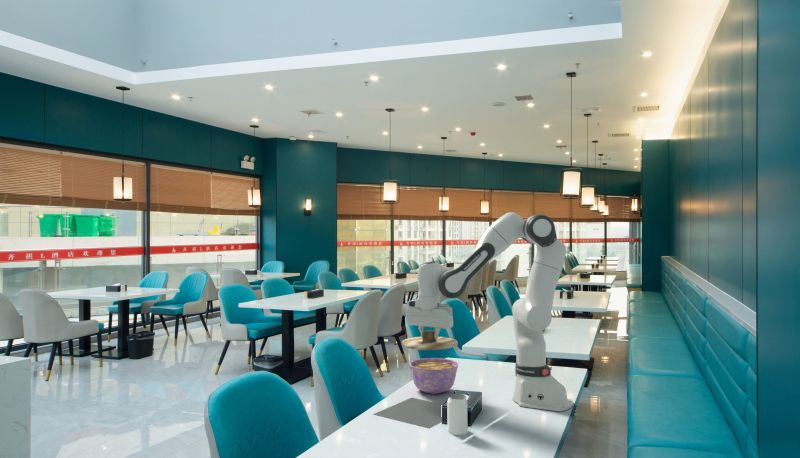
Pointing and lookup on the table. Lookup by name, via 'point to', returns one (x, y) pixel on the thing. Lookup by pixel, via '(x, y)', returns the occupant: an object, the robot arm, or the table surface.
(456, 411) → the can
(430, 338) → the oak bowl cover
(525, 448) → the table surface
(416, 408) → the rubber mat
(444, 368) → the bowl of food
